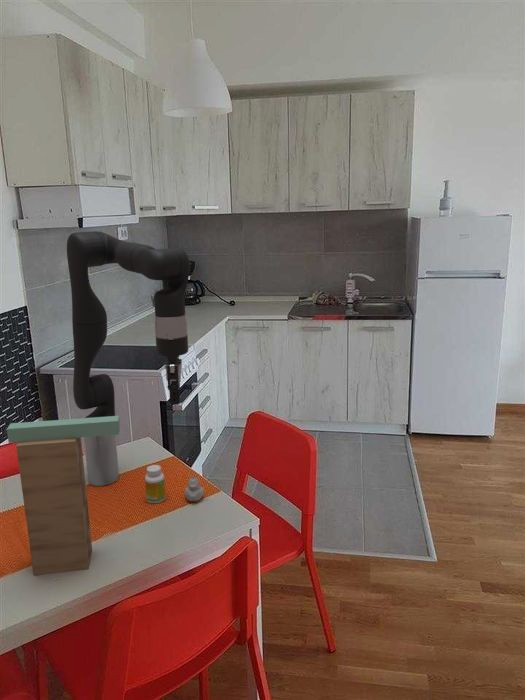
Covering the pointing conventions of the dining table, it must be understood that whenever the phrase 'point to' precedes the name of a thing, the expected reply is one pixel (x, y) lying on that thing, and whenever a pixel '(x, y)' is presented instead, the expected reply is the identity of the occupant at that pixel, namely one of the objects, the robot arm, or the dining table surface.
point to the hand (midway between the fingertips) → (175, 398)
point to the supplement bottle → (154, 484)
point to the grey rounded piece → (194, 490)
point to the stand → (55, 504)
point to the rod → (63, 429)
